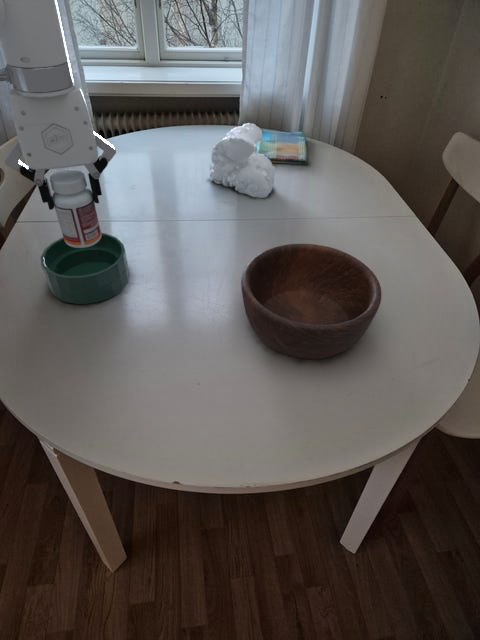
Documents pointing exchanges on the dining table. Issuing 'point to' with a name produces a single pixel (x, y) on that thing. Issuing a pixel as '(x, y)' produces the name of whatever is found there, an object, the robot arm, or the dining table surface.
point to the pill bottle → (75, 208)
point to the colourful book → (284, 147)
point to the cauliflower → (242, 162)
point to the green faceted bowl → (86, 270)
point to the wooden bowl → (309, 299)
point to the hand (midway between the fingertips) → (73, 201)
